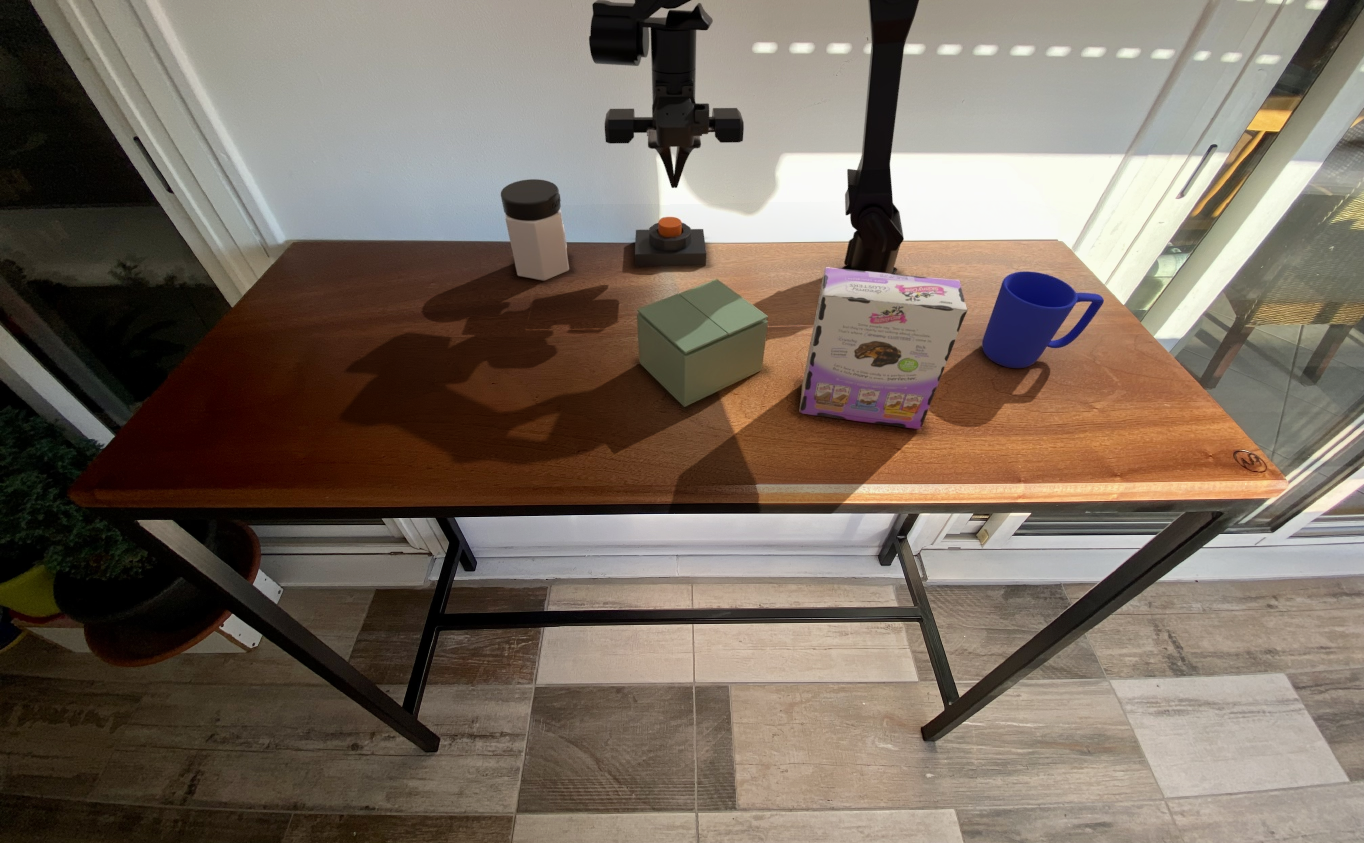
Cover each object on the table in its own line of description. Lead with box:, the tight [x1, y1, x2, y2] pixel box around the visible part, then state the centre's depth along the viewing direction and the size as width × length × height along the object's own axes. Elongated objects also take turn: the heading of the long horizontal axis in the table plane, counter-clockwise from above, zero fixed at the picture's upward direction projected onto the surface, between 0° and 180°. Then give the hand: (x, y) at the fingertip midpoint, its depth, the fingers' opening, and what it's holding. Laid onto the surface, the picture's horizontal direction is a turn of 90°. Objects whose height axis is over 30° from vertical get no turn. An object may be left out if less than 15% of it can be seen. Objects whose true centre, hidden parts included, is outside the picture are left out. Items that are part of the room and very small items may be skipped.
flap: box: [678, 278, 769, 335], centre depth 71 cm, size 6×10×1 cm, turn 35°
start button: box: [657, 216, 683, 237], centre depth 92 cm, size 4×4×2 cm
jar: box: [500, 178, 570, 282], centre depth 88 cm, size 9×8×12 cm
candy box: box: [799, 266, 968, 430], centre depth 65 cm, size 14×6×16 cm, turn 78°
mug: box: [981, 270, 1105, 369], centre depth 74 cm, size 8×12×10 cm
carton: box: [636, 293, 769, 408], centre depth 73 cm, size 12×10×8 cm
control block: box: [634, 222, 707, 267], centre depth 94 cm, size 11×8×4 cm
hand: (674, 187), depth 88 cm, fingers closed
